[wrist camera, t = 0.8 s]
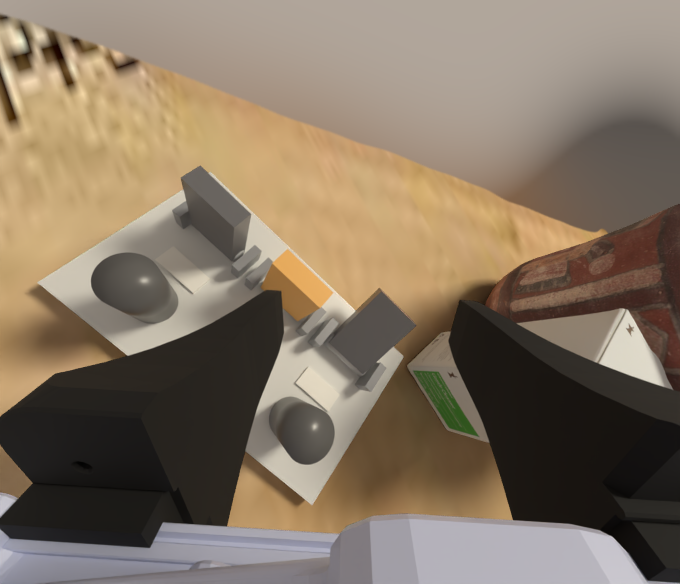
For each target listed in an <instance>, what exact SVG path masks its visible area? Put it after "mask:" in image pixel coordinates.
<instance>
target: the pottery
mask: <svg viewBox="0 0 680 584" xmlns="http://www.w3.org/2000/svg"><path fill="white" fill-rule="evenodd" d="M485 306H487V307H489V308H490V309H492V310H494V311H496V312H498V313H499V314H501V315H503V316H504V317H506V318H508V319H510V320H511V321H513V322H515V323H523V322H531V321H539V320H547V319H555V318H562V317H571V316H579V315H586V314H593V313H600V312H606V311H611V310H616V309H620V308H623V309H626V310H628V311H629V313H630V314H631V316H632V318H633V319H634V321H635V323H636V325H637V327H638V328H639V330H640V332H641V333H642V335H643V337H644V339H645V341H646V342H647V344H648V346H649V348H650V349H651V350H652V351H653V352H654V353H655V354H656V356H657V357H658V358H659V360H660V362H661V364H662V366H663V368H664V371H665V374H666V376H667V379H668V381H669V383H670V384H671V386H672V388H673V390H675V391H678V392H680V204H678V205H675V206H672V207H670V208H668V209H666V210H663V211H661V212H659V213H657V214H654V215H652V216H650V217H648V218H646V219H643V220H641V221H639V222H637V223H634V224H632V225H629V226H627V227H624V228H622V229H619V230H617V231H614V232H611V233H609V234H606V235H604V236H601V237H599V238H596V239H593V240H591V241H588V242H586V243H583V244H580V245H576V246H573V247H570V248H567V249H564V250H561V251H557V252H554V253H551V254H548V255H545V256H542V257H539V258H536V259H533V260H531V261H528V262H526V263H523V264H522V265H520V266H519V267H517V268H515V269H514V270H513V271H511V272H510V273H509V274H507V275H506V276H505V277H503V278H502V279H501V280H500V281H499V282H498V283H497V284H496V285H495V287H494V288H493V290H492V292H491V293H490V295H489V297H488V299H487V301H486V304H485Z"/></svg>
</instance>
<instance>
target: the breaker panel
mask: <svg viewBox="0 0 680 584" xmlns="http://www.w3.org/2000/svg"><path fill="white" fill-rule="evenodd" d="M209 174H210V175H211V176H212V177H213V178H214V179H215V180H216V181H217V182H218V183H219V184H220V185H221V186H222V187H223V188H224V189H225V190H226V191H227V192H229V193H230V194H231V195H232V196H233V197H234V198H235V199H236V200H237V201H238V202H239V203H240V204H241V205H242V206H243V207H244V208H245V209H246V210H247V211H248V212H250V213H251V219H250V224H249V230H248V236H247V241H246V247H245V253H244V255H243V256H241V257H240V258H239V259H238V260H237V261H236V262H233V261H231V260H230V259H229V258H227V257H226V256H225V255H224V254H223V253H222V252H221V251H220V250H219V249H218V248H216V247H215V246H214V245H213V244H212V243H211V242H210V241H209V240H208V239H207V238H206V237H204V236H203V235H202V234H201V233H200V232H199V231H198V230H197V229H196V228H195V227H194V226H192V223H191V219H190V215H189V210H188V206H187V202H186V198H185V194H184V190H181V191H180V192H178V193H177V194H175V195H174V196H172V197H170V198H169V199H167V200H166V201H164V202H163V203H161V204H159V205H158V206H156V207H155V208H153V209H152V210H150V211H149V212H147V213H145V214H144V215H142V216H141V217H139V218H138V219H136V220H134V221H133V222H131V223H130V224H128V225H127V226H125V227H123V228H122V229H120V230H119V231H117V232H116V233H114V234H112V235H111V236H109V237H108V238H106V239H105V240H103V241H102V242H100V243H98V244H97V245H95V246H94V247H92V248H91V249H89V250H87V251H86V252H84V253H83V254H81V255H80V256H78V257H76V258H75V259H73V260H72V261H70V262H69V263H67V264H65V265H64V266H62V267H61V268H59V269H58V270H56V271H54V272H53V273H51V274H50V275H48V276H47V277H45V278H44V279H42V280H40V281H39V282H37V283H38V284H40V285H41V286H42V287H43V288H45V289H46V290H47V291H48V292H50V293H51V294H52V295H53V296H55V297H56V298H57V299H58V300H59V301H61V302H62V303H63V304H64V305H66V306H67V307H68V308H69V309H71V310H72V311H73V312H74V313H75V314H77V315H78V316H79V317H80V318H82V319H83V320H84V321H85V322H87V323H88V324H89V325H90V326H92V327H93V328H94V329H95V330H96V331H98V332H99V333H100V334H101V335H103V336H104V337H105V338H106V339H108V340H109V341H110V342H111V343H113V344H114V345H115V346H116V347H117V348H119V349H120V350H121V351H122V352H124V353H125V354H126V355H127V356H129V355H132V354H136V353H139V352H142V351H145V350H148V349H151V348H154V347H157V346H159V345H162V344H165V343H167V342H170V341H172V340H175V339H178V338H180V337H183V336H185V335H188V334H190V333H192V332H194V331H196V330H198V329H201V328H203V327H205V326H207V325H209V324H211V323H212V322H214V321H216V320H218V319H220V318H221V317H223V316H225V315H227V314H228V313H230V312H232V311H233V310H235V309H237V308H238V307H240V306H241V305H243V304H244V303H246V302H248V301H249V300H251V299H252V298H254V297H255V296H257V295H258V294H260V293H262V292H263V291H264V290H262V289H261V285H262V283H263V282H264V279H265V277H266V275H267V273H268V271H269V269H270V267H271V265H272V263H273V262H274V261H275V260H276V259H277V258H278V257H279V256H280V255H281V254H283V253H284V252H285V251H286V250H287V249H288V250H289V251H290V252H292V253H293V254H294V255H295V256H296V257H297V258H298V259H299V260H300V261H301V262H302V263H303V264H304V265H305V266H306V267H307V268H308V269H309V270H310V271H311V272H313V273H314V274H315V275H316V276H317V277H318V278H319V279H320V280H321V281H322V282H323V283H324V284H325V285H326V286H327V287H328V288H329V289H330V290H331V291H332V292H333V294H332V295H331V296H330V298H329V299H328V300H327V301H326V302H325V303H324V304H323V306H322V307H321V308H320V309H318V310H316V311H315V312H313V313H311V314H309V315H308V316H306V317H304V318H302V319H301V320H300V321H296V320H295V319H294V318H293V317H292V316H291V315H290V314H289V313H288V312H286V311H285V310H284V309H283V322H284V335H283V339H282V343H281V347H280V351H279V354H278V357H277V359H276V362H275V364H274V367H273V369H272V372H271V374H270V377H269V379H268V382H267V384H266V387H265V389H264V391H263V394H262V396H261V399H260V402H259V405H258V407H257V410H256V414H255V417H254V421H253V424H252V428H251V431H250V435H249V439H248V442H247V446H246V450H245V451H246V452H247V453H248V454H250V455H251V456H252V457H253V458H254V459H256V460H257V461H258V462H259V463H261V464H262V465H263V466H264V467H266V468H267V469H268V470H269V471H270V472H272V473H273V474H274V475H275V476H277V477H278V478H279V479H280V480H282V481H283V482H284V483H285V484H287V485H288V486H289V487H290V488H291V489H293V490H294V491H295V492H296V493H298V494H299V495H300V496H301V497H303V498H304V499H305V500H306V501H308V502H309V503H310V504H311V505H313V503H314V501H315V500H316V498H317V497H318V495H319V493H320V492H321V490H322V489H323V487H324V485H325V484H326V482H327V480H328V479H329V477H330V476H331V474H332V472H333V471H334V469H335V467H336V466H337V464H338V463H339V461H340V459H341V458H342V456H343V455H344V453H345V451H346V450H347V448H348V446H349V445H350V443H351V442H352V440H353V438H354V437H355V435H356V433H357V432H358V430H359V429H360V427H361V425H362V424H363V422H364V421H365V419H366V417H367V416H368V414H369V412H370V411H371V409H372V408H373V406H374V404H375V403H376V401H377V399H378V398H379V396H380V395H381V393H382V391H383V390H384V388H385V387H386V385H387V383H388V382H389V380H390V378H391V377H392V375H393V374H394V372H395V370H396V369H397V367H398V365H399V364H400V362H401V361H402V359H403V357H404V356H403V355H402V354H401V353H400V352H398V351H397V350H396V349H395V348H394V347H393V348H391V349H390V350H389V351H388V352H387V353H386V354H385V355H384V356H383V357H382V358H380V359H379V360H378V361H377V362H376V363H375V364H374V365H373V366H372V367H371V368H369V369H368V370H367V372H366V373H365V374H364V375H363V376H361V377H359V376H358V375H357V374H356V373H355V372H353V371H352V370H351V369H350V368H349V367H348V366H347V365H346V364H345V363H344V362H343V361H341V360H340V359H339V358H338V357H337V356H336V355H335V354H334V353H333V352H332V351H331V350H329V349H328V348H327V347H326V346H325V345H324V344H323V343H324V341H325V340H326V339H327V338H328V336H329V335H330V334H332V333H334V332H335V331H336V330H337V329H338V328H339V327H340V326H341V325H342V324H343V323H344V322H345V321H346V320H347V319H348V318H349V317H350V316H351V315H352V314H353V313H354V312H355V311H356V310H354V309H353V308H352V307H351V306H350V305H349V304H348V303H347V302H346V301H345V300H344V299H343V298H342V297H341V296H340V295H339V294H338V293H337V292H336V291H335V290H334V289H332V288H331V287H330V286H329V285H328V284H327V283H326V282H325V281H324V280H323V279H322V278H321V277H320V276H319V275H318V274H317V273H316V272H315V271H314V270H313V269H312V268H310V267H309V266H308V265H307V264H306V263H305V262H304V261H303V260H302V259H301V258H300V257H299V256H298V255H297V254H296V253H295V252H294V251H293V250H292V249H291V248H290V247H288V246H287V245H286V244H285V243H284V242H283V241H282V240H281V239H280V238H279V237H278V236H277V235H276V234H275V233H274V232H273V231H272V230H271V229H270V228H269V227H268V226H267V225H265V224H264V223H263V222H262V221H261V220H260V219H259V218H258V217H257V216H256V215H255V214H254V213H253V212H252V211H251V210H250V209H249V208H248V207H247V206H246V205H245V204H243V203H242V202H241V201H240V200H239V199H238V198H237V197H236V196H235V195H234V194H233V193H232V192H231V191H230V190H229V189H228V188H227V187H226V186H225V185H224V184H223V183H221V182H220V181H219V180H218V179H217V178H216V177H215V176H214V175H213V174H212V173H211V172H210V173H209Z"/></svg>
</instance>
